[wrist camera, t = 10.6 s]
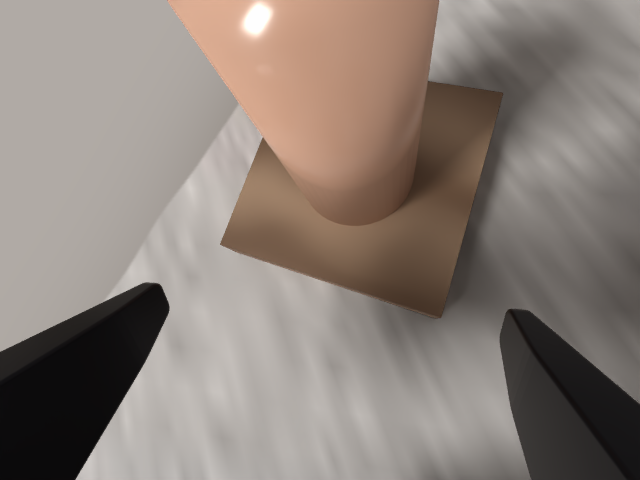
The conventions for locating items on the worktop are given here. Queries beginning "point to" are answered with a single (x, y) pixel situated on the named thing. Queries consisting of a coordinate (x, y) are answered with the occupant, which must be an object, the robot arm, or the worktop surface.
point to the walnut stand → (389, 233)
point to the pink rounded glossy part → (328, 90)
